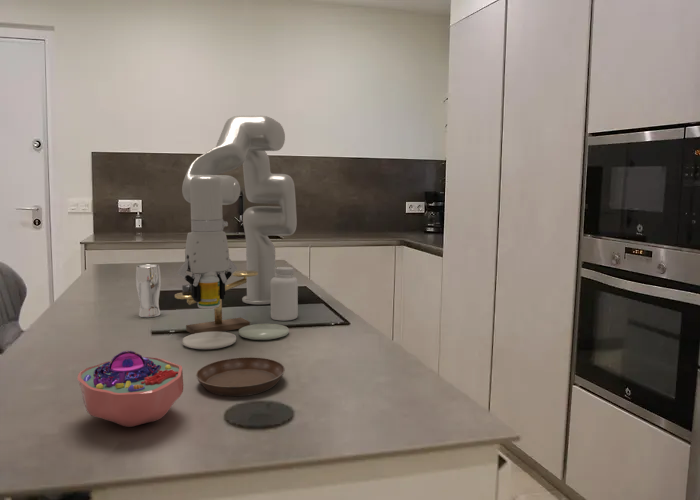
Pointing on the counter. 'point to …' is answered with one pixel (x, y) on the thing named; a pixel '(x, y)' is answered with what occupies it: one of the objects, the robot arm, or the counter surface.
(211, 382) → the plant saucer
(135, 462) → the counter surface
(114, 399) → the cell model
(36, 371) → the counter surface
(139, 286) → the beer glass
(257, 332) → the pale green dish
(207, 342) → the cream dish
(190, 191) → the robot arm
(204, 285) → the supplement bottle
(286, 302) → the pill bottle
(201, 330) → the brass balance
